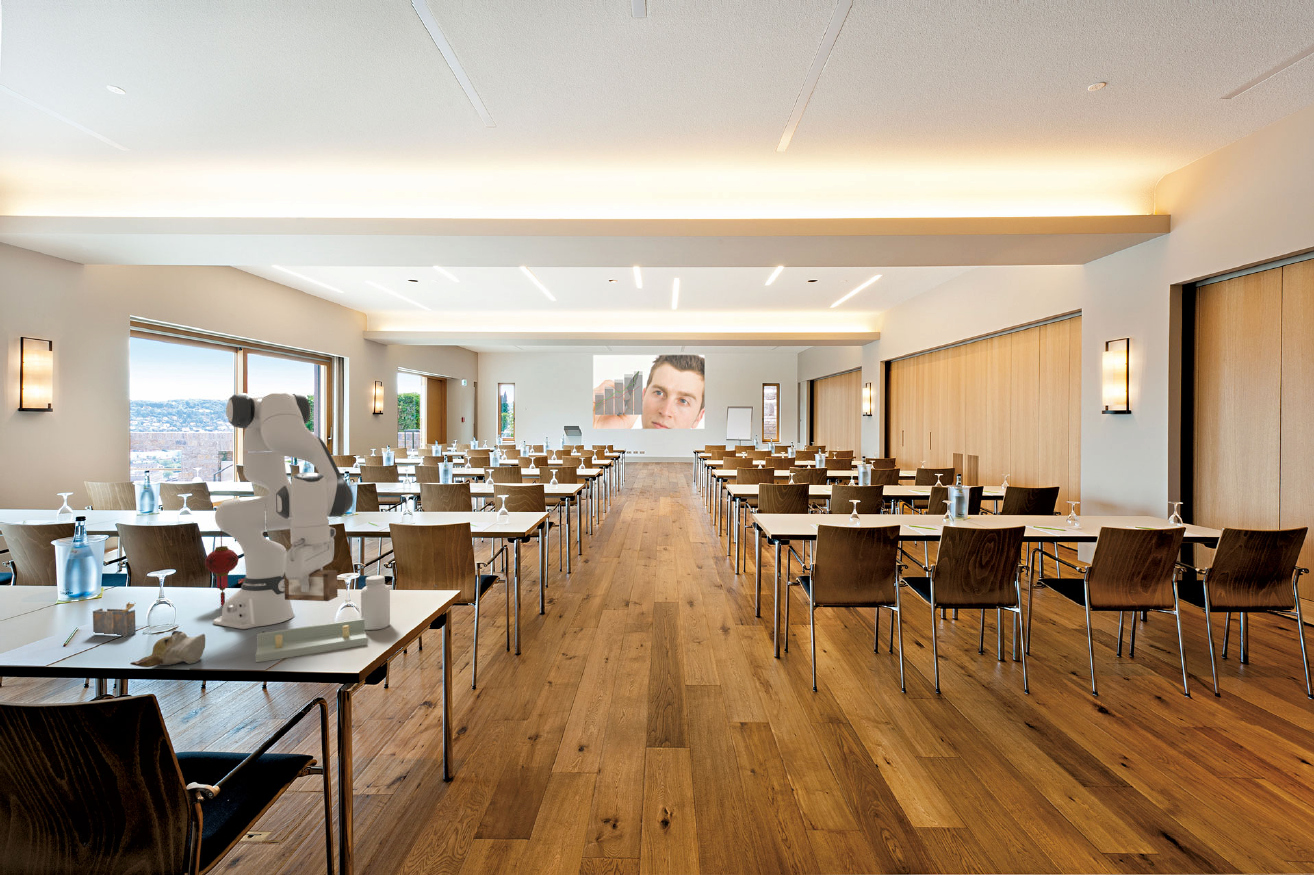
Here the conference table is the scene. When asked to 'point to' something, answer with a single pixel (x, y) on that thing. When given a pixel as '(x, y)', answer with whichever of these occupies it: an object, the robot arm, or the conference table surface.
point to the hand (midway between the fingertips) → (311, 588)
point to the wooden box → (313, 587)
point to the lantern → (221, 566)
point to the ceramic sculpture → (174, 650)
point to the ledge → (310, 640)
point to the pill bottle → (375, 603)
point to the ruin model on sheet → (115, 621)
